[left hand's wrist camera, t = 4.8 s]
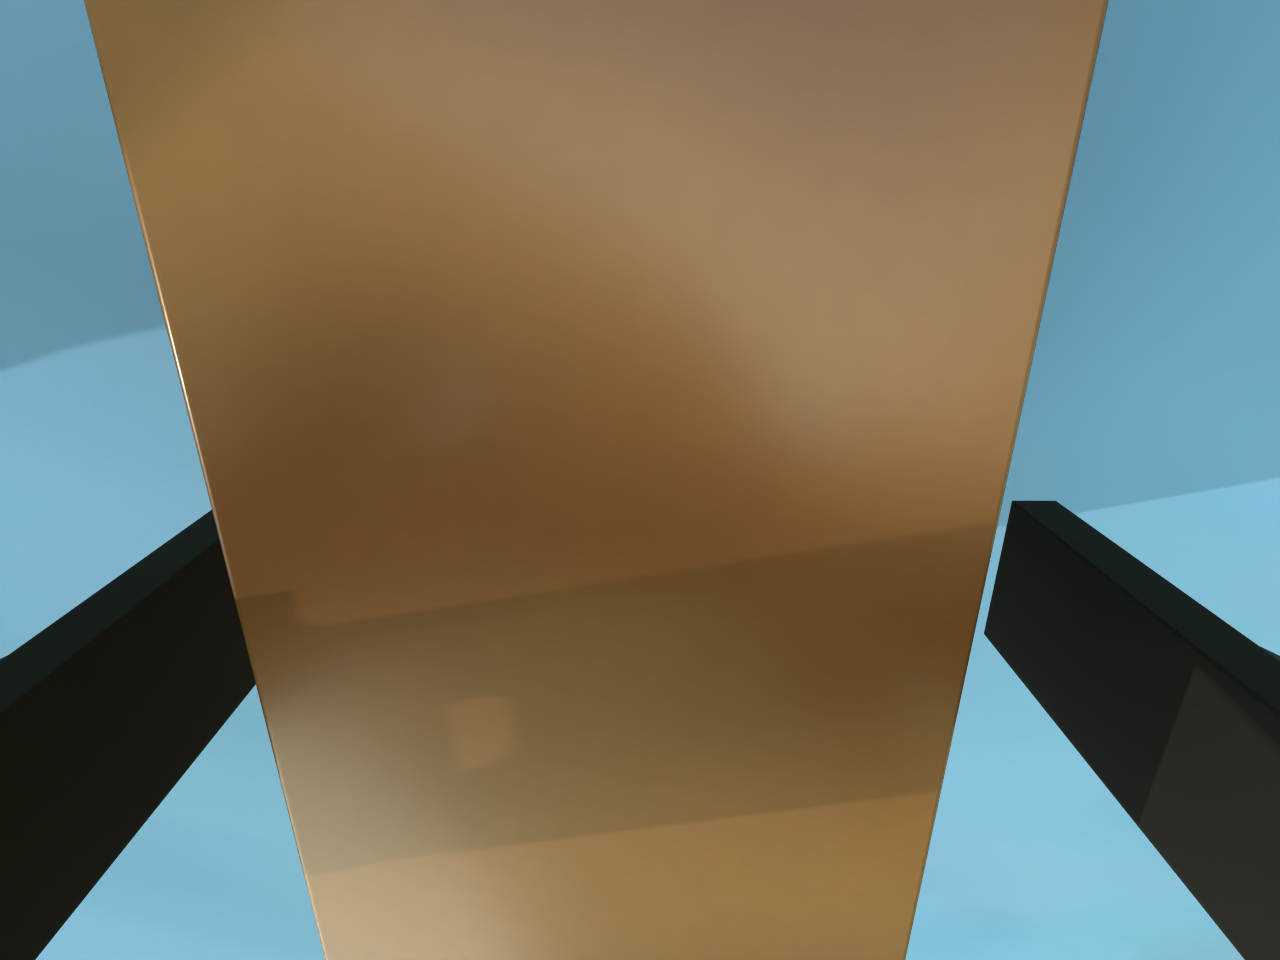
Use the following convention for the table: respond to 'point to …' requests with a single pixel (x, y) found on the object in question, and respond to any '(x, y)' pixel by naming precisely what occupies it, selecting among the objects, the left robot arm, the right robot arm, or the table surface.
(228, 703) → the left robot arm
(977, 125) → the box
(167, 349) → the table surface
